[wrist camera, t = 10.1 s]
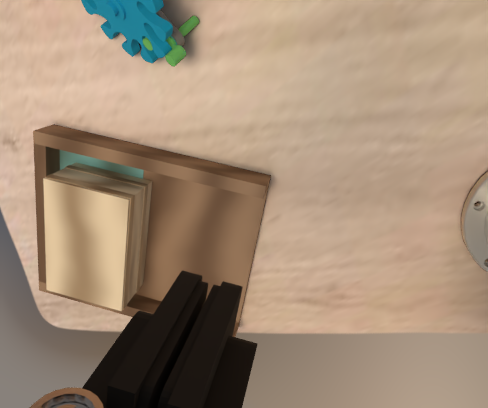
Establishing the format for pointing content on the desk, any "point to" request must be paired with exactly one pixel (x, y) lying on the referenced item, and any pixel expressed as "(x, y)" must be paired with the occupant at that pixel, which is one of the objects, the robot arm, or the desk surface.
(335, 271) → the desk surface
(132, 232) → the cream hardcover book
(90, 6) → the blue spiky virus toy
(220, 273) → the bay
